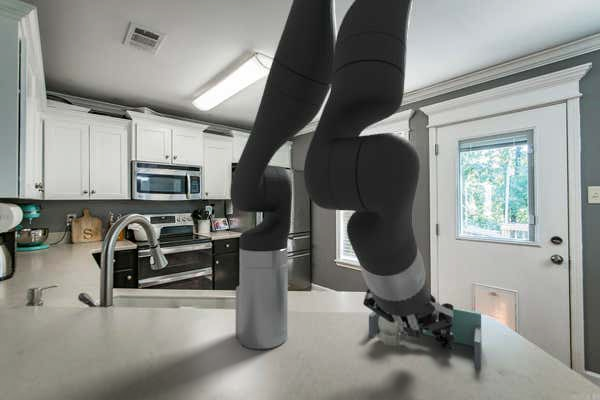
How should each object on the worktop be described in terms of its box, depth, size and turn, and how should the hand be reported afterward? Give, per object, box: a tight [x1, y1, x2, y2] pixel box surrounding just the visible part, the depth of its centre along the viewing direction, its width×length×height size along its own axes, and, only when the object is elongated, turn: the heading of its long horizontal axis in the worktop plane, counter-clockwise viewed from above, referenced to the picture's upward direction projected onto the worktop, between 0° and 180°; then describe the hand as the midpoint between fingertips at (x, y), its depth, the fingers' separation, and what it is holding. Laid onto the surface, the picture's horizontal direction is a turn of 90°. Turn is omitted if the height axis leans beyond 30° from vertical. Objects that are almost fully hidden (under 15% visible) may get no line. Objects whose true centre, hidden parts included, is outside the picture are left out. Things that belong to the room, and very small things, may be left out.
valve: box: [378, 312, 454, 351], centre depth 49 cm, size 7×7×12 cm
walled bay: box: [368, 307, 483, 369], centre depth 50 cm, size 18×8×6 cm, turn 55°
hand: (414, 331), depth 45 cm, fingers closed
